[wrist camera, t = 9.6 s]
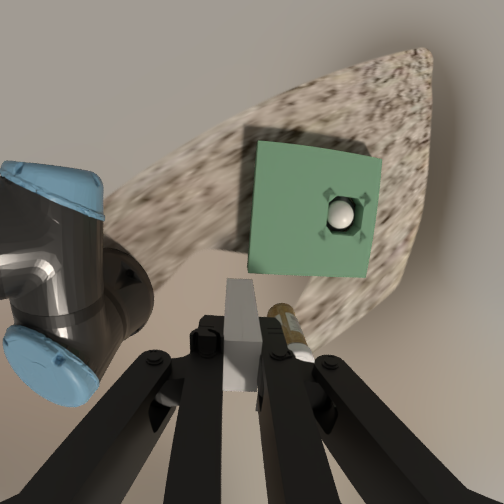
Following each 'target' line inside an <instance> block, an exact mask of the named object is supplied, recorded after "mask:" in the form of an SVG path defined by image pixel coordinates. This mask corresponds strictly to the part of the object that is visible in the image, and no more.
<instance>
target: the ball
mask: <svg viewBox="0 0 504 504" xmlns="http://www.w3.org/2000/svg"><path fill="white" fill-rule="evenodd" d="M353 216H354V214H353V210H352V208H351V206H350V205H349V204H348V203H347V202H344V201H335V202H333V203H331V204H330V205H329V206H328V214H327V221H328V222H329V224H330V225H331V226H333V227H335V228H338V229H341V228H345V227H347V226H349V225H350V224H351V222H352V220H353Z"/></svg>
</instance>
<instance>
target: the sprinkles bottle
mask: <svg viewBox="0 0 504 504" xmlns="http://www.w3.org/2000/svg"><path fill="white" fill-rule="evenodd" d="M267 317H275V318H276V319H277V320H278V321H279V322H280V323H281V326H282V329H283V333H284V336H285V339H286V343H287V346H288V349H290V350H291V351H293V353H294V354H295V356H296V358H297V359H299V360H302V361H307V362H312V363H314V362H315V361H314V357H313V354H312V351H311V349H310V348H309V347H308V345H307V343H306V340H305V337H304V334H303V332H302V329H301V327H300V325H299V322H298V320H297V318H296V317H295V312H294V310H293V308H292V307H291V306H290V305H288V304H285V303H279V304H276V305H274V306H273V307H271V308H270V310H269V312H268V315H267Z"/></svg>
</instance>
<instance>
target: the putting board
mask: <svg viewBox="0 0 504 504" xmlns="http://www.w3.org/2000/svg"><path fill="white" fill-rule="evenodd" d="M381 168H382V159H379V158H374V157H369V156H364V155H359V154H354V153H349V152H343V151H337V150H331V149H325V148H318V147H311V146H304V145H296V144H288V143H279V142H270V141H259V140H258V142H257V145H256V158H255V171H254V184H253V197H252V210H251V223H250V236H249V249H248V263H247V268H248V273H257V274H278V275H301V276H327V277H358V278H366V273H367V268H368V263H369V258H370V252H371V246H372V241H373V234H374V228H375V221H376V214H377V206H378V198H379V189H380V179H381ZM346 197H351V199H352V200H353V201H354V203H355V204H356V206H355V210H354V206H353V204H352V202H351V201H350V200H349V199H348V198H346ZM335 201H344V202H347V203H348V204H349V205H350V206H351V208H352V210H353V214H354V216H353V220H354V222H353V220H352V222H353V226H352V227H351V228H349V229H348V230H347V231H346V232H341V231H342V230H345V229H346V228H348V227H349V226H350V225H351V224H350V225H349V226H347V227H345V228H341V229H338V228H335V227H333V226H331V225H330V224H329V222H328V221H327V214H328V206H329V205H330V204H331V203H333V202H335ZM352 222H351V223H352ZM326 226H327V227H328V228H329V229H331V230H334V231H329V229H328V228H327V227H326Z"/></svg>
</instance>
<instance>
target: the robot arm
mask: <svg viewBox="0 0 504 504" xmlns="http://www.w3.org/2000/svg"><path fill="white" fill-rule="evenodd" d="M0 174H1V176H0V300H2V299H8V298H9V300H10V304H11V309H12V313H13V318H14V325H11V326H10V327H9V328H7V331H6V333H5V336H4V338H3V348H4V352H5V355H6V358H7V360H8V362H9V364H10V365H11V367H12V368H13V370H14V371H15V372H16V374H17V375H18V376H19V377H20V378H21V380H22V381H23V382H24V383H25V384H26V385H27V386H29V387H30V388H31V389H32V390H33V391H35V392H36V393H37V394H39V395H40V396H42V397H43V398H45V399H47V400H49V401H51V402H53V403H55V404H58V405H61V406H66V407H78V406H80V405H82V404H85V403H86V402H87V401H88V400H89V398H90V397H91V396H92V395H93V393H94V392H95V391H96V390H97V389H98V387H99V383H100V381H101V378H102V377H103V375H104V373H105V371H106V370H107V368H108V366H109V364H110V363H111V361H112V359H113V357H114V355H115V353H116V352H117V350H118V348H119V347H120V345H121V343H122V341H124V340H126V339H127V338H129V337H130V336H132V335H134V334H136V333H137V332H139V331H140V330H141V329H142V328H143V327H144V325H145V324H146V323H147V321H148V319H149V317H150V315H151V313H152V310H153V306H154V293H153V288H152V285H151V282H150V280H149V278H148V276H147V274H146V272H145V271H144V270H143V268H142V267H141V266H140V265H139V264H138V263H137V262H136V261H135V260H134V259H133V258H132V257H130V256H129V255H127V254H125V253H123V252H121V251H119V250H115V249H110V248H103V221H105V215H104V214H103V183H102V181H101V179H100V177H99V176H98V175H97V174H95V173H94V172H91V171H87V170H81V169H74V168H68V167H61V166H54V165H46V164H37V163H26V162H16V161H4V162H3V164H2V166H1V168H0ZM257 386H258V396H257V404H256V411H258V414H259V424H260V432H261V443H262V451H263V461H264V469H265V479H266V488H267V496H268V504H342V503H341V502H340V499H339V496H338V493H337V489H336V486H335V483H334V480H333V476H332V473H331V469H330V466H329V463H328V459H327V456H326V453H325V449H324V446H323V443H322V441H323V442H324V444H325V445H326V446H327V448H328V450H329V451H330V453H331V454H332V456H333V457H334V458H335V460H336V461H337V463H338V465H339V466H340V467H341V469H342V470H343V472H344V473H345V475H346V476H347V478H348V479H349V480H350V482H351V483H352V485H353V486H354V488H355V489H356V490H357V492H358V493H359V495H360V496H361V497H362V499H363V500H364V502H365V503H366V504H503V503H500V502H498V501H495V500H493V499H490V498H488V497H485V496H483V495H481V494H478V493H476V492H474V491H471V490H469V489H467V488H466V487H465V486H464V485H463V484H462V483H461V482H460V481H459V480H458V479H457V478H456V477H455V476H454V475H453V474H452V473H451V472H450V471H449V470H448V469H447V468H446V467H445V466H444V465H443V464H442V462H441V461H439V460H438V459H437V457H436V456H435V455H434V454H433V453H432V452H431V451H430V450H429V449H428V448H427V447H426V446H425V445H424V444H423V443H422V442H421V441H420V440H419V439H418V438H417V437H416V436H415V435H414V434H413V433H412V432H411V431H410V429H408V427H407V426H406V425H405V424H404V423H403V422H402V421H401V420H400V419H399V418H398V417H397V416H396V415H395V414H394V413H393V412H392V411H391V410H390V409H389V408H388V407H387V406H386V405H385V403H384V402H383V401H382V400H381V399H380V398H379V397H378V396H377V395H376V394H375V393H374V392H373V391H372V390H371V389H370V388H369V387H368V386H367V385H366V384H365V383H364V381H363V380H362V379H361V378H360V377H359V376H358V375H357V374H356V373H355V372H354V371H353V370H352V369H351V368H350V367H349V366H348V365H347V364H346V363H345V362H344V361H343V360H342V359H341V358H339V357H337V356H334V355H322V356H319V357H317V358H316V359H315V362H314V363H312V362H307V361H302V360H299V359H297V358H296V356H295V354H294V353H293V351H291V350H290V349H288V346H287V343H286V339H285V336H284V333H283V329H282V326H281V323H280V322H279V321H278V320H277V319H276V318H275V317H258V311H257V305H256V299H255V293H254V287H253V281H252V280H251V279H232V278H227V285H226V300H225V316H214V315H204V316H203V317H202V318H201V319H200V321H199V327H198V328H197V329H195V330H193V331H192V332H191V333H190V354H188V355H186V356H184V357H180V358H172V359H171V357H170V355H169V354H168V353H166V352H164V351H162V350H149V351H145V352H143V353H142V354H141V355H140V356H139V357H138V358H137V359H136V360H135V361H134V362H133V363H132V364H131V365H130V366H129V368H128V369H127V370H126V371H125V372H124V373H123V374H122V376H121V377H120V378H119V379H118V380H117V381H116V382H115V383H114V385H113V386H112V387H111V388H110V389H109V390H108V391H107V392H106V393H105V395H104V396H103V397H102V398H101V399H100V400H99V401H98V402H97V404H96V405H95V406H94V407H93V408H92V409H91V410H90V411H89V413H88V414H87V415H86V416H85V417H84V418H83V419H82V421H81V422H80V423H79V424H78V425H77V426H76V427H75V429H74V430H73V431H72V432H71V433H70V434H69V436H68V437H67V438H66V439H65V440H64V441H63V442H62V444H61V445H60V446H59V447H58V448H57V449H56V450H55V452H54V453H53V454H52V455H51V456H50V457H49V459H48V460H47V461H46V462H45V463H44V464H43V466H42V467H41V468H40V469H39V470H38V472H37V473H36V474H35V475H34V476H33V477H32V479H31V480H30V481H29V482H28V483H27V485H26V486H25V487H24V488H23V489H22V491H21V492H20V493H19V494H17V495H15V496H13V497H11V498H9V499H7V500H5V501H2V502H0V504H121V502H122V500H123V499H124V497H125V496H126V494H127V492H128V491H129V489H130V487H131V486H132V484H133V482H134V480H135V479H136V477H137V475H138V473H139V472H140V470H141V468H142V467H143V465H144V463H145V462H146V460H147V458H148V456H149V455H150V453H151V451H152V449H153V448H154V446H155V444H156V443H157V441H158V439H159V438H160V436H161V434H162V432H163V430H164V429H165V427H166V425H167V423H168V422H169V420H170V418H171V417H172V415H173V413H174V411H175V409H176V406H179V410H178V416H177V421H176V427H175V432H174V438H173V444H172V450H171V456H170V462H169V468H168V474H167V481H166V487H165V494H164V502H163V504H221V450H222V400H223V391H248V392H250V391H251V392H253V391H254V392H257ZM321 439H322V440H321Z"/></svg>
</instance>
